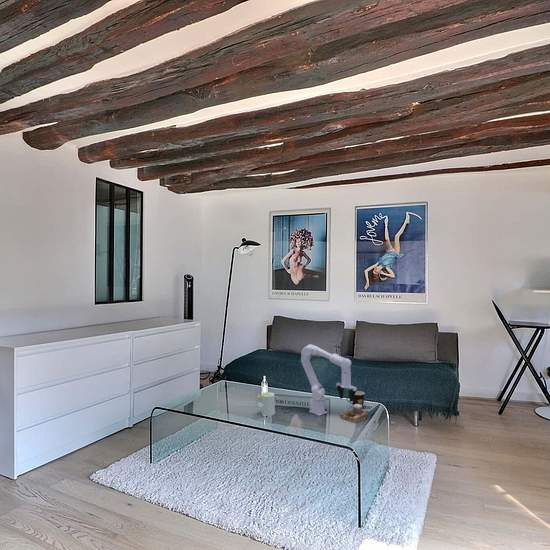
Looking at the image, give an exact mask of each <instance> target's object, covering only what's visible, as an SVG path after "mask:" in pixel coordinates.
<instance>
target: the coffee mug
mask: <svg viewBox="0 0 550 550" xmlns="http://www.w3.org/2000/svg"><path fill="white" fill-rule="evenodd" d="M348 398H350V397H349V395H347V396H346V401H347V402H348V403H350V404H352V406H353V405H355V404H359V405H362V410H363V409H364V402H365V392H364V391H361V390H356V393H355V395H354V398H353V401H351V402H350V400H349V399H348Z"/></svg>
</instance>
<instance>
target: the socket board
mask: <svg viewBox="0 0 550 550" xmlns="http://www.w3.org/2000/svg"><path fill="white" fill-rule="evenodd" d="M369 414H370V413H369V412H366V411H363V410H362V413H361V414H355V413H353V408H352V409H350V410H348V411H345V412H343V413H340V419H342V420H345V421H348V422H350V423H354V424H355V423H358V422H360V421H363V420H365V419H367V418H369Z"/></svg>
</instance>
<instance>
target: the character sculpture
mask: <svg viewBox="0 0 550 550" xmlns="http://www.w3.org/2000/svg"><path fill="white" fill-rule="evenodd" d="M256 399H257V400H260V401H259V402H257V407H258V408H259V409H260V411H261V412H260V413H261V414H263V415H274V414H275V415H276V402H275V401H276V400H277V396H276V394H275V393H274V392H269V391H265V392H262V393H261V394H258V395H257V398H256Z"/></svg>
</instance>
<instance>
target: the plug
mask: <svg viewBox="0 0 550 550" xmlns="http://www.w3.org/2000/svg"><path fill="white" fill-rule="evenodd" d="M352 409H353V413H355V414H361V413H362V411H363V409H362V405H359V404H355V405H353V404H352Z"/></svg>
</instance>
